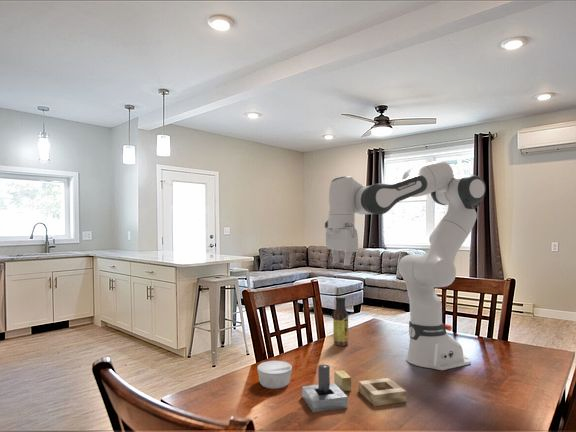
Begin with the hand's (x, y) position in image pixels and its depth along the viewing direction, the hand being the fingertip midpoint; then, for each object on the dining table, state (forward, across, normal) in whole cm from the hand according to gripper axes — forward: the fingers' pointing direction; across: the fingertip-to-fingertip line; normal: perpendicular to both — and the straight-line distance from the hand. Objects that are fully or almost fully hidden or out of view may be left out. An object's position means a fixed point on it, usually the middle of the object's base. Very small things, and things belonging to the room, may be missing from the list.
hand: (341, 263), depth 133 cm
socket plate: (+37, -19, +13) cm, 44 cm away
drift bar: (+37, -11, +4) cm, 39 cm away
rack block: (+37, -20, -5) cm, 42 cm away
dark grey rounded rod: (+37, -19, +13) cm, 44 cm away
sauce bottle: (+37, +30, -13) cm, 49 cm away
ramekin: (+38, -2, +23) cm, 44 cm away
